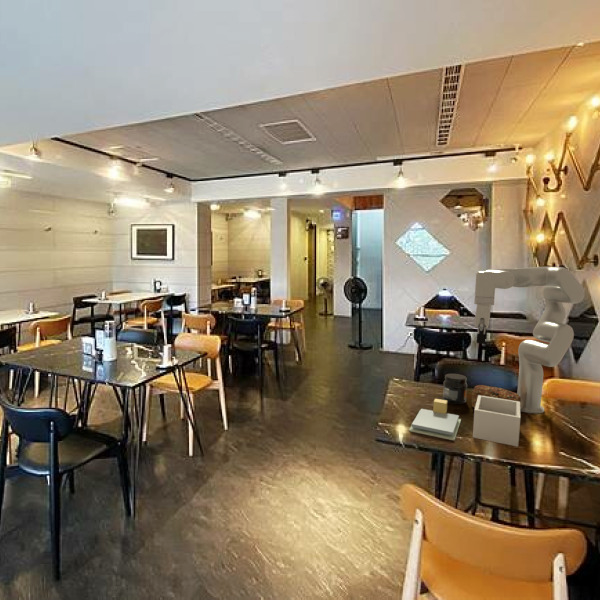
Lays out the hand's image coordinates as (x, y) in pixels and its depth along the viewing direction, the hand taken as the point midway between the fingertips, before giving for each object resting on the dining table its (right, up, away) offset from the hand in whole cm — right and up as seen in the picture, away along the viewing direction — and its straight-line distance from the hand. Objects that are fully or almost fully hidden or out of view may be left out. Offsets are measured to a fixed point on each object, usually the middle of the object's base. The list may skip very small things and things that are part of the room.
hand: (481, 341), depth 173 cm
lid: (-21, -33, -5) cm, 39 cm away
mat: (-21, -34, -6) cm, 40 cm away
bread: (+12, -33, +13) cm, 37 cm away
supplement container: (-3, -31, +23) cm, 39 cm away
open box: (+1, -35, -11) cm, 37 cm away
